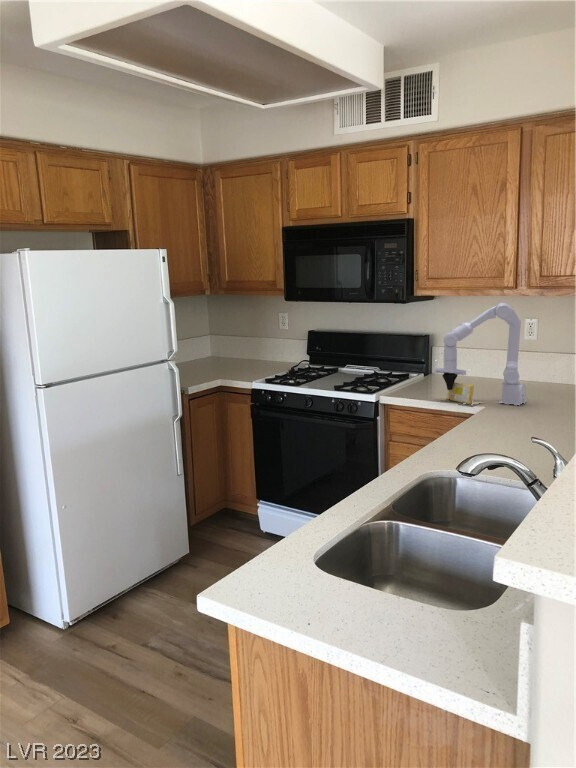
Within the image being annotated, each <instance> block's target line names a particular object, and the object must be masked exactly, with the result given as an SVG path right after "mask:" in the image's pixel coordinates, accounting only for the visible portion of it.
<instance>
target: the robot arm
mask: <svg viewBox="0 0 576 768" xmlns="http://www.w3.org/2000/svg"><path fill="white" fill-rule="evenodd" d="M497 317H498V319H501V320H504V321H505V323H507V324H508V339H507V353H506V364H505V368H504V370H503V372H502V374H503V375H502V376H503V378H504V379H503V381H502V382H501V400H500V401H498V402H497V403H498V404H500V403H506V404H505V405H509V404H514V405H513V406H517V405H519V406H521V405H520V404H522V403H524V404H526V403H525V402H526V395H527V394H526V391H527V389H526V385H525V384H522V383H521V381H519V379H520V373H519V371H518V368H519V349H520V339H521V338H520V336H521V324H522V323H521V322H522V320H521V319H520V317H519V316H518V314H517V313H516V312H515V310H514V309H513V307H512V306H510V305H509V304H508V303H506V302H500V303H498V304H497V305H495V306H492V307H490V308H489V309H487V310H485V311H484V312H482V313H481V314H480V315H478V316H477V317H475V318H474V319H473V320H471V321H470V322H461V323H459V325H458V326H457V327H455V328H454V329H451V330H450V331H449V333H447V334H445V336H444V337H443V367H441V368H440V367H436V368H434V373H435V374H442V378H443V380H444V382H445V384H446V389H447V390H452V388H453V384H454V382H455V381H456V379H457V377H458V375H459V376H466V375H467V370H466V369H465V370H463V369H458V368H457V366H458V361H457V360H458V350H457V343H458V342H461V341H462V340H464V339H466V338H467V337H468V336H470V335H472V334H473V331H474V329H475V328H476V327H478V326H480V325H481V324H483V323H484V322H486V321H488V320H492V319H497ZM522 405H523V404H522Z"/></svg>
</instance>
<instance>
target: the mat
mask: <svg viewBox="0 0 576 768" xmlns="http://www.w3.org/2000/svg"><path fill="white" fill-rule="evenodd" d="M457 406H463V407H471V408H473V407H476V406H478V405H477V404H473V405H471V404H463V403H462V402H459V403H457Z"/></svg>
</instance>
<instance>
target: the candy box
mask: <svg viewBox="0 0 576 768" xmlns="http://www.w3.org/2000/svg"><path fill="white" fill-rule="evenodd" d="M473 394H474V385H471V384H465V383H460V382H455V381H454V384H453V388H452V390H447V391H446V398H447V399H446V398H445V399H446V400H449V399H450V400H449V401H453V402H458V403H466V404H472V401H473Z"/></svg>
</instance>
